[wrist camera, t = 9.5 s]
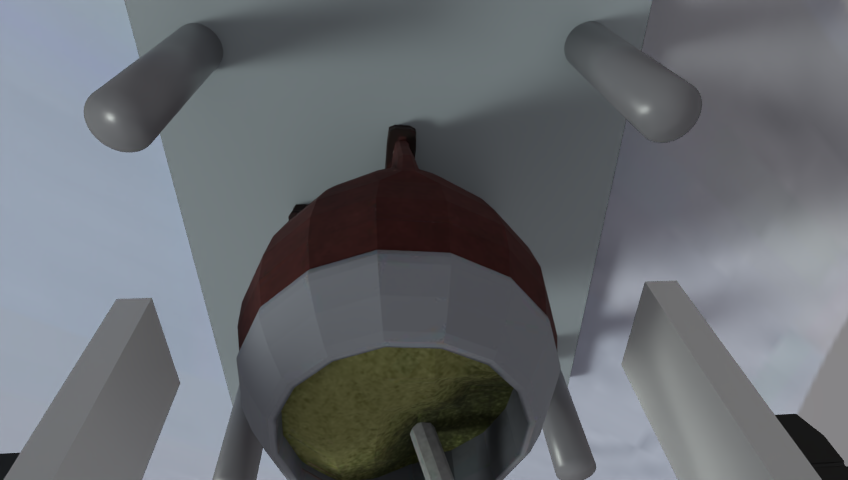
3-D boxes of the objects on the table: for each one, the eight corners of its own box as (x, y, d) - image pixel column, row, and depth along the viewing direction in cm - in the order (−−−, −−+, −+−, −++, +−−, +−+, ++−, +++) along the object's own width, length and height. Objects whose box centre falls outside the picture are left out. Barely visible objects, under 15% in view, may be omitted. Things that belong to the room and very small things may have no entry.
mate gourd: (272, 101, 15) (-325, 1311, 2) (557, 121, 16) (1261, 1093, 3) (284, 314, 19) (87, 1179, 6) (510, 321, 20) (736, 1099, 7)
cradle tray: (120, -68, 13) (-31, -37, 8) (652, -66, 14) (796, -35, 9) (238, 392, 22) (197, 538, 17) (560, 378, 23) (609, 514, 18)
